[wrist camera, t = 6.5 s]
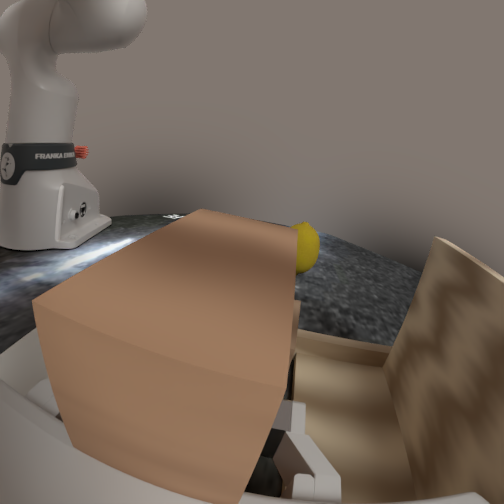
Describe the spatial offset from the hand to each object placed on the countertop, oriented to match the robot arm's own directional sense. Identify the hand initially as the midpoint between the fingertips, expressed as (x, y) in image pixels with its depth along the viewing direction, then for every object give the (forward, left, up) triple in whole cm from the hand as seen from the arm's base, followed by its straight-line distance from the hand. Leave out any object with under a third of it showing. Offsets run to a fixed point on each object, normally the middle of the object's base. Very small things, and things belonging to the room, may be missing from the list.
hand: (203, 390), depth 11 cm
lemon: (-33, +4, -7) cm, 34 cm away
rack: (-2, +6, -7) cm, 9 cm away
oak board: (+1, 0, -7) cm, 7 cm away
